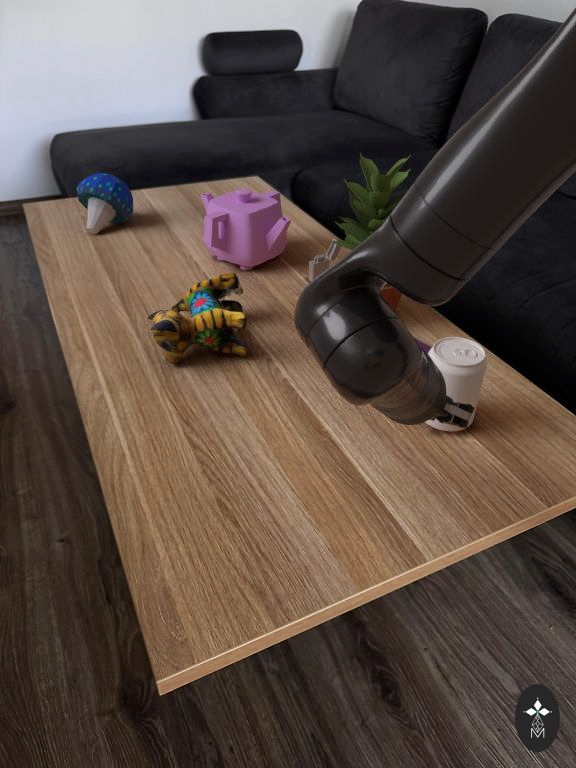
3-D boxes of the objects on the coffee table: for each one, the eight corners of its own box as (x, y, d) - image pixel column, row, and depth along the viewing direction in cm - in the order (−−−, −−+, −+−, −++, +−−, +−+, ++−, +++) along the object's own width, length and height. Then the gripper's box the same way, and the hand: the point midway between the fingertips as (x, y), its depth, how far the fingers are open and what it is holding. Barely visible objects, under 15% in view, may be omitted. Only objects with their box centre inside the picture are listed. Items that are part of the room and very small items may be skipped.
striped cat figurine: (239, 330, 116) (146, 336, 112) (239, 268, 111) (142, 271, 106) (262, 369, 99) (153, 378, 94) (263, 298, 93) (148, 303, 89)
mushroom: (53, 207, 136) (80, 153, 140) (74, 236, 150) (98, 187, 153) (110, 225, 135) (135, 170, 139) (126, 253, 149) (148, 203, 152)
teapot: (204, 241, 140) (199, 177, 131) (280, 238, 142) (280, 174, 133) (206, 278, 125) (200, 209, 116) (291, 274, 127) (292, 205, 118)
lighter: (312, 283, 124) (313, 247, 119) (308, 279, 125) (309, 244, 120) (340, 275, 126) (342, 240, 122) (336, 272, 128) (338, 237, 123)
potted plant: (320, 296, 119) (327, 140, 101) (394, 293, 120) (414, 139, 102) (331, 336, 107) (341, 167, 89) (413, 332, 108) (439, 165, 90)
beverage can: (417, 397, 93) (428, 332, 86) (470, 402, 92) (486, 337, 85) (417, 431, 86) (430, 364, 79) (474, 437, 85) (492, 370, 78)
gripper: (479, 369, 57) (494, 402, 73) (359, 329, 63) (396, 368, 79) (449, 441, 57) (470, 458, 72) (331, 394, 63) (374, 419, 78)
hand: (432, 411), depth 76 cm, fingers closed
